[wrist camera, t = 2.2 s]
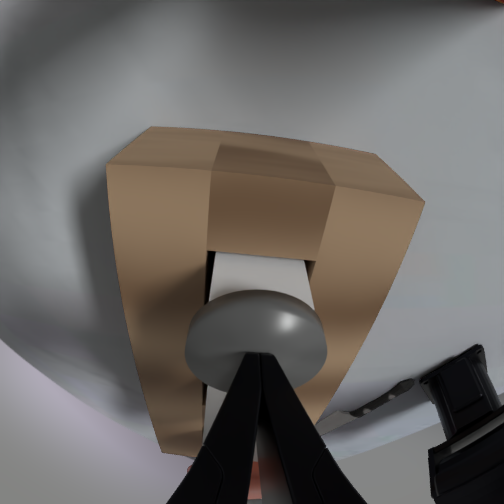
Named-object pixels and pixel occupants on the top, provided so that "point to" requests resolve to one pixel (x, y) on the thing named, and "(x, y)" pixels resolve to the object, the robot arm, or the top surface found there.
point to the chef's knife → (360, 409)
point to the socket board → (248, 248)
